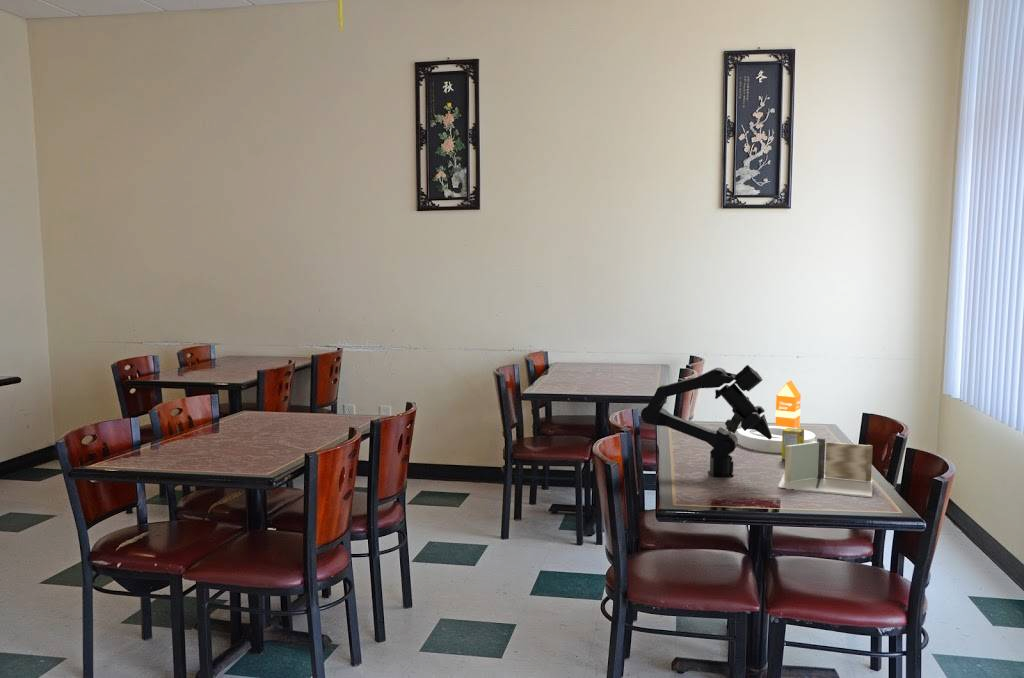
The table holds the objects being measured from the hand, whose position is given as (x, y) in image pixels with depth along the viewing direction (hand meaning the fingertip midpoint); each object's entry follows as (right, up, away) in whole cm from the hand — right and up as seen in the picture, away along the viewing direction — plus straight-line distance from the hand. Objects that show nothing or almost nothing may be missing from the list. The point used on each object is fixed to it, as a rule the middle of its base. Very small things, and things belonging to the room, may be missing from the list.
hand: (770, 438), depth 274 cm
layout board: (+16, -14, -5) cm, 21 cm away
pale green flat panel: (+9, -13, -2) cm, 15 cm away
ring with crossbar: (+17, -9, +52) cm, 56 cm away
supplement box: (+16, -11, +27) cm, 33 cm away
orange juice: (+30, -6, +79) cm, 85 cm away
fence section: (+23, -13, -1) cm, 26 cm away
